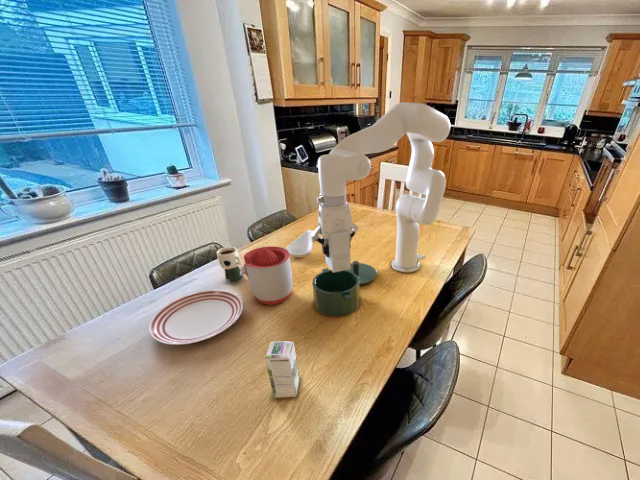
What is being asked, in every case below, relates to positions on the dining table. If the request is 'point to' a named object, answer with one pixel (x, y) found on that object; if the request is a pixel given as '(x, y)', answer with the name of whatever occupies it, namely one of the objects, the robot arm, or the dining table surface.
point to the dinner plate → (196, 317)
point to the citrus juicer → (268, 274)
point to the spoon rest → (301, 245)
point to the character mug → (230, 263)
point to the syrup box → (282, 369)
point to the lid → (363, 272)
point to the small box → (339, 251)
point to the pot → (336, 292)
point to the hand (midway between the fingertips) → (336, 252)
